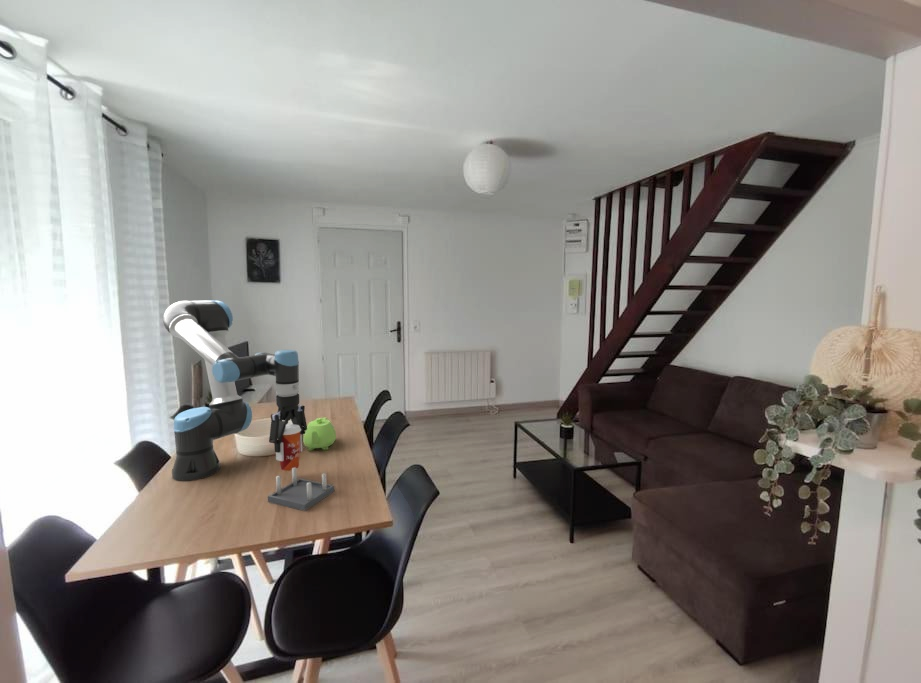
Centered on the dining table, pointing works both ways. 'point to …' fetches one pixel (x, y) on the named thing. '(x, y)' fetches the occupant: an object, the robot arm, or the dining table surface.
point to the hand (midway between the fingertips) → (289, 455)
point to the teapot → (319, 434)
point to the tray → (300, 492)
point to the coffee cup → (291, 447)
